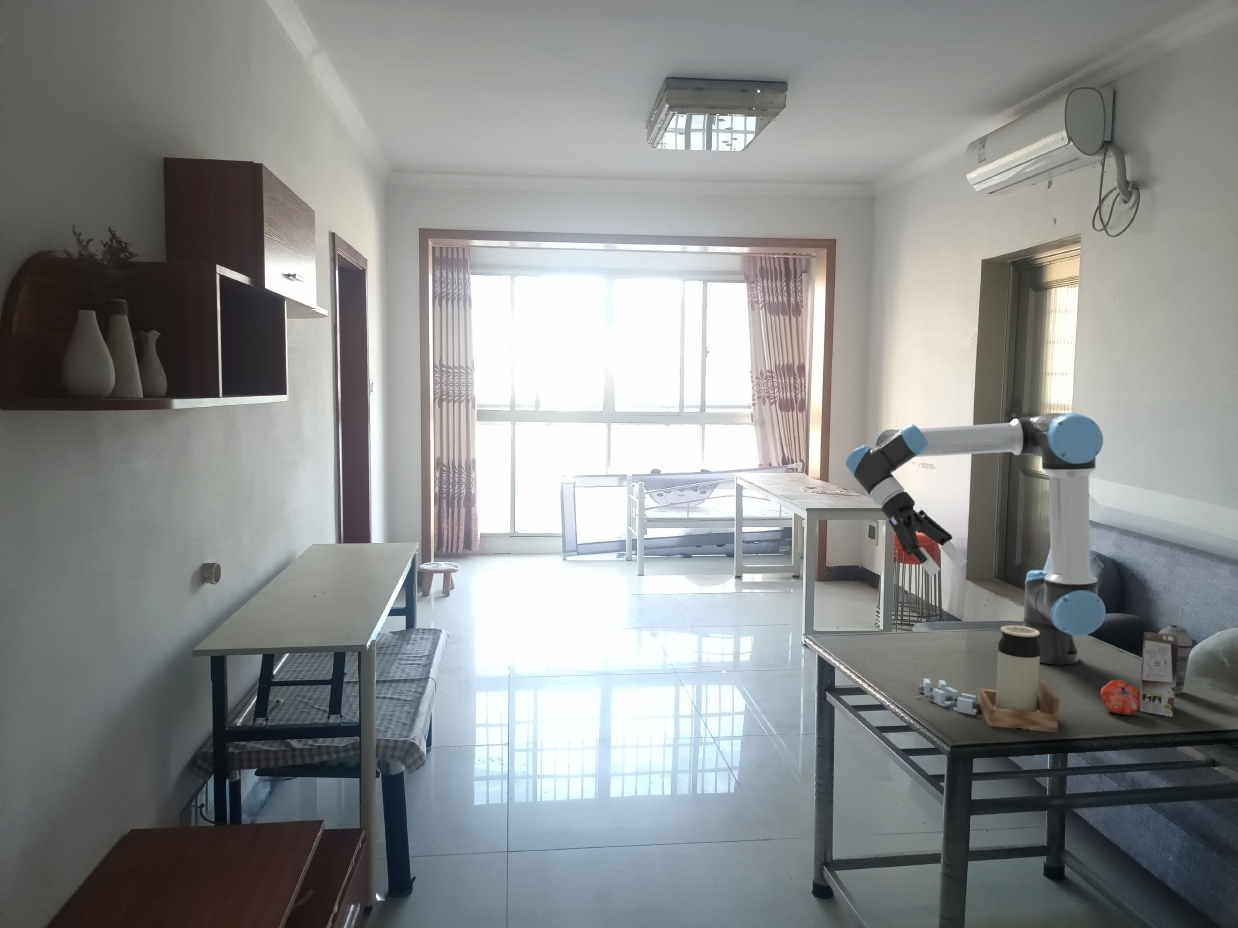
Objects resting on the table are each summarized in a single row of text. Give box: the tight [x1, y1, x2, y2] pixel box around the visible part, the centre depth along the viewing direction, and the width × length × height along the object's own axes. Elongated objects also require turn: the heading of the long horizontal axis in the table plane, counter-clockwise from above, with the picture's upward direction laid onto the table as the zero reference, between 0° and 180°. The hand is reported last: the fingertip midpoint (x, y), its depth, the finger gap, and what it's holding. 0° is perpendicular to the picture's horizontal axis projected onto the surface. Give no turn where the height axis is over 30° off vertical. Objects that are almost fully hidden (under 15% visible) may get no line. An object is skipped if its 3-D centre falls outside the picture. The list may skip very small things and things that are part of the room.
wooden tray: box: [976, 678, 1060, 734], centre depth 179 cm, size 13×13×7 cm
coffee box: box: [1139, 631, 1179, 718], centre depth 186 cm, size 9×6×16 cm
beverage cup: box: [1158, 607, 1194, 695], centre depth 198 cm, size 7×7×20 cm
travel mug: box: [995, 625, 1040, 712], centre depth 179 cm, size 8×8×18 cm
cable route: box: [917, 678, 981, 716], centre depth 188 cm, size 12×14×3 cm
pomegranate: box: [1100, 679, 1140, 716], centre depth 184 cm, size 7×7×10 cm
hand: (949, 569), depth 199 cm, fingers open, 13 cm apart
